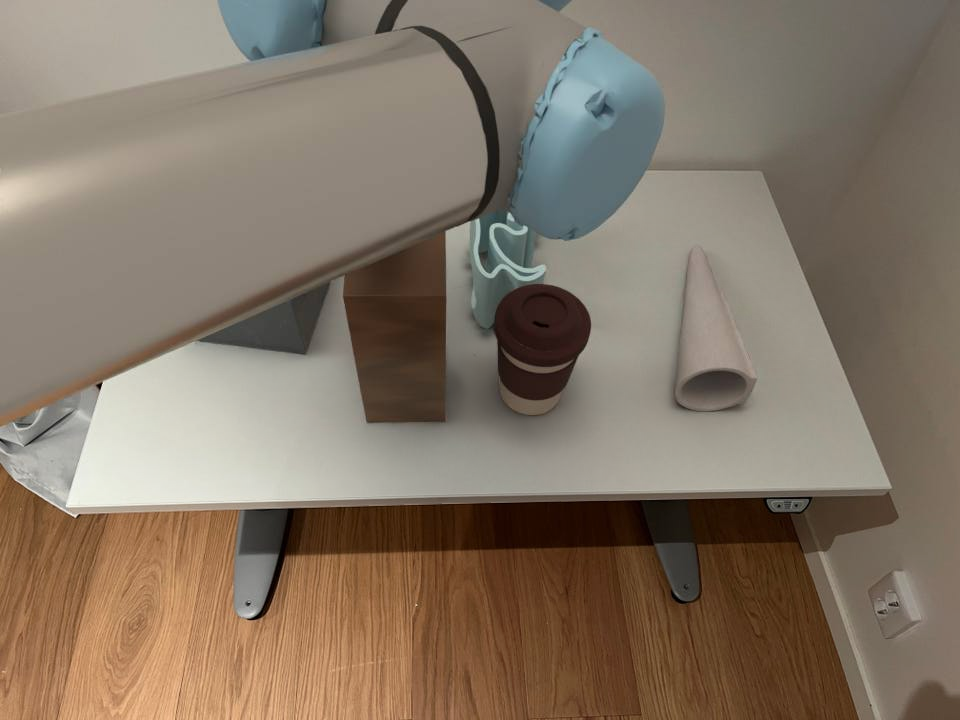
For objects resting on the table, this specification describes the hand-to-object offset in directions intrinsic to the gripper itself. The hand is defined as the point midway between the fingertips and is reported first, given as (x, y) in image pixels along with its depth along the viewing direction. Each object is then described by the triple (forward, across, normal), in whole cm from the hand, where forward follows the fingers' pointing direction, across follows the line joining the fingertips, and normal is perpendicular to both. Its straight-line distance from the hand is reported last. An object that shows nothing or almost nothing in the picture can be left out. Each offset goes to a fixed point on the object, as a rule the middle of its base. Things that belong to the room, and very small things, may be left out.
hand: (277, 170), depth 64 cm
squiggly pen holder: (+8, +18, -30) cm, 36 cm away
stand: (+8, -3, -27) cm, 29 cm away
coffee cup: (0, +3, -37) cm, 37 cm away
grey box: (+24, 0, -11) cm, 26 cm away
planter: (-8, +22, -47) cm, 53 cm away
